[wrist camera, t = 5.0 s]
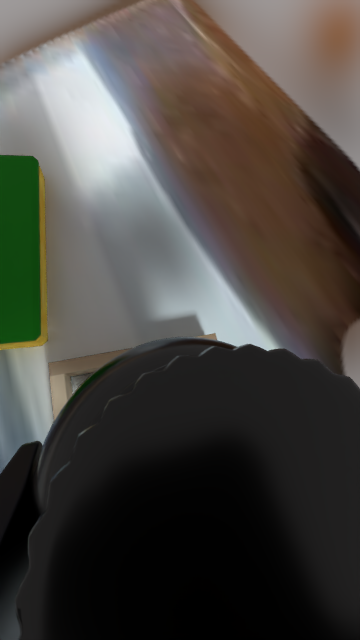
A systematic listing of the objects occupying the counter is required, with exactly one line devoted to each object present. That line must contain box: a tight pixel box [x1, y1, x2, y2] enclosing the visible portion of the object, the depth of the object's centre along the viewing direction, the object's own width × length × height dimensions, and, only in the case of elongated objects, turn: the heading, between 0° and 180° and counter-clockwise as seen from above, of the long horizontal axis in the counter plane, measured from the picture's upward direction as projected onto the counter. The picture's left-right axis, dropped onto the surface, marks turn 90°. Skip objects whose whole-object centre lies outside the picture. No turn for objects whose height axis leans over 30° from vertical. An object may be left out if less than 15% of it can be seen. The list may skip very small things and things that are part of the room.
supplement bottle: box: [14, 337, 360, 640], centre depth 8 cm, size 7×7×12 cm
